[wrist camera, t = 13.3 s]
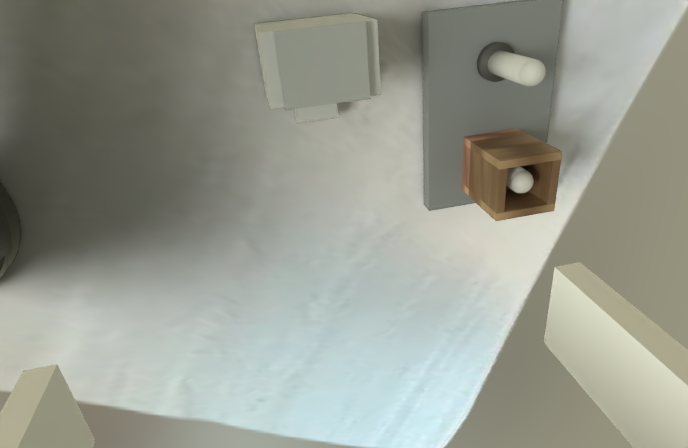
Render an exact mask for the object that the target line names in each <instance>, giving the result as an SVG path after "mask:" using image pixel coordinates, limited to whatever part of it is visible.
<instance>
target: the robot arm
mask: <svg viewBox="0 0 688 448" xmlns="http://www.w3.org/2000/svg"><path fill="white" fill-rule="evenodd" d="M19 244H20V223H19V218H18V215H17V211H16V209H15V206H14V204H13V202H12V200H11V198H10V197H9V195H8V193H7V192H6V191H5V189H4V188H3V186H2V185H1V184H0V277H1V276H2V275H3V274H4V272H5V271H6V270H7V269H8V267H9V266H10V265H11V263H12V262H13V260H14V258H15V256H16V254H17V251H18V248H19ZM544 343H545V344H546V346H547V347H548V348H549V349H550V350H551V351H552V353H553V354H554V355H555V356H556V357H557V358H558V360H559V361H560V362H561V363H562V364H563V365H564V366H565V368H566V369H567V370H568V371H569V372H570V374H571V375H572V376H573V377H574V378H575V380H576V381H577V382H578V383H579V384H580V385H581V386H582V388H583V389H584V390H585V391H586V392H587V394H588V395H589V396H590V397H591V398H592V399H593V401H594V402H595V403H596V404H597V405H598V406H599V408H600V409H601V410H602V411H603V412H604V413H605V415H606V416H607V417H608V418H609V419H610V421H611V422H612V423H613V424H614V425H615V426H616V428H617V429H618V430H619V431H620V432H621V433H622V435H623V436H624V437H625V438H626V439H627V440H628V442H629V443H630V444H631V445H632V446H633V447H634V448H688V350H687V349H686V348H685V347H683V346H682V345H681V344H680V343H678V342H677V341H676V340H675V339H673V338H672V337H671V336H670V335H669V334H667V333H666V332H665V331H664V330H662V329H661V328H660V327H659V326H658V325H656V324H655V323H654V322H653V321H651V320H650V319H649V318H648V317H646V316H645V315H644V314H643V313H642V312H640V311H639V310H638V309H637V308H635V307H634V306H633V305H632V304H630V303H629V302H628V301H627V300H626V299H624V298H623V297H622V296H621V295H619V294H618V293H617V292H616V291H614V290H613V289H612V288H611V287H610V286H608V285H607V284H606V283H605V282H603V281H602V280H601V279H600V278H599V277H597V276H596V275H595V274H594V273H592V272H591V271H590V270H589V269H587V268H586V267H585V266H584V265H583V264H581V263H580V262H578V263H573V264H567V265H562V266H557V267H555V269H554V275H553V282H552V289H551V296H550V303H549V311H548V317H547V324H546V331H545V338H544ZM94 442H95V440H94V437H93V435H92V434H91V431H90V429H89V428H88V425H87V423H86V421H85V419H84V417H83V415H82V413H81V412H80V409H79V407H78V405H77V403H76V401H75V399H74V397H73V395H72V393H71V391H70V389H69V387H68V385H67V383H66V381H65V379H64V377H63V375H62V373H61V371H60V369H59V367H58V365H57V364H56V365H51V366H46V367H41V368H36V369H31V370H26V371H23V373H22V374H21V376H20V378H19V380H18V382H17V383H16V385H15V387H14V389H13V391H12V393H11V395H10V396H9V398H8V400H7V402H6V403H5V405H4V407H3V409H2V411H1V412H0V448H93V445H94Z"/></svg>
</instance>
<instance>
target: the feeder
mask: <svg viewBox="0 0 688 448" xmlns="http://www.w3.org/2000/svg"><path fill="white" fill-rule="evenodd" d="M254 26H255V33H256V39H257V45H258V51H259V57H260V63H261V70H262V76H263V82H264V88H265V92H266V96H267V100H268V103H269V107H270V110H271V109H278V108H285V110H291V109H294V110H295V118H296V122H297V124H298V123H305V122H312V121H319V120H327V119H334V118H338V108H337V103H343V102H350V101H358V100H365V99H370V96H374V95H381V84H380V64H379V44H378V24H377V19H374V18H370V17H366V16H362V15H358V14H354V13H347V14H338V15H329V16H320V17H311V18H302V19H293V20H284V21H275V22H266V23H256V24H254Z"/></svg>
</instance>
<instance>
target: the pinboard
mask: <svg viewBox="0 0 688 448" xmlns="http://www.w3.org/2000/svg"><path fill="white" fill-rule="evenodd" d="M562 7H563V0H523V1H514V2H505V3H496V4H487V5H479V6H470V7H461V8H452V9H443V10H434V11H425V12H422V47H423V160H424V205H425V207H426V208H427V209H428V210H429V211H431V210H437V209H443V208H448V207H454V206H460V205H466V204H472V203H476V202H475V201H474V200H473V199H471V198H470V197H469V196H468V195H467V194H466V193H465V192H464V191H463V190H462V175H463V144H464V137H465V136H472V135H479V134H485V133H492V132H498V131H505V130H512V129H519V130H521V131H523V132H525V133H527V134H529V135H531V136H533V137H535V138H537V139H539V140H541V141H543V142H544V143H547V135H548V126H549V118H550V109H551V101H552V92H553V84H554V75H555V67H556V58H557V50H558V41H559V33H560V24H561V16H562ZM533 183H534V180H533V176H532V175H531V174H530V173H529V172H528V171H526V170H525V169H523V168H522V167H520V166H519V167H513V168H508V171H507V184H506V186H507V187H509V188H510V189H511V190H513V191H514V192H516V193H525V192H527V191H529V190H530V189H531V188H532V186H533Z"/></svg>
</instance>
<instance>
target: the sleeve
mask: <svg viewBox="0 0 688 448" xmlns="http://www.w3.org/2000/svg"><path fill="white" fill-rule="evenodd" d="M561 155H562V151H560V150H558V149H556V148H554V147H552V146H550V145H548V144H546V143H544V142H543V141H541V140H539V139H537V138H535V137H533V136H531V135H529V134H527V133H525V132H523V131H521V130H519V129H512V130H505V131H498V132H492V133H485V134H479V135H472V136H465V137H464V144H463V175H462V190H463V191H464V192H465V193H466V194H467V195H468V196H469V197H470V198H471V199H473V200H474V201H475V202H476V203H477V204H478V205H479V206H480V207H481V208H482V209H483V210H484V211H486V212H487V213H488V214H489V215H490V216H491V217H492V218H493V219H494V220H495V221H499V220H505V219H511V218H516V217H522V216H527V215H533V214H539V213H544V212H550V211H554V207H555V200H556V193H557V185H558V178H559V170H560V163H561ZM519 166H520V167H522V168H523V169H525V170H526V171H528V172H529V173H530V174H531V175H532V176H533V180H534V183H533V186H532V188H531V189H530V190H529V191H527V192H525V193H516V192H514V191H513V190H511V189H510V188H509V187H507V186H506V184H507V171H508V168H513V167H519Z"/></svg>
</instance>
